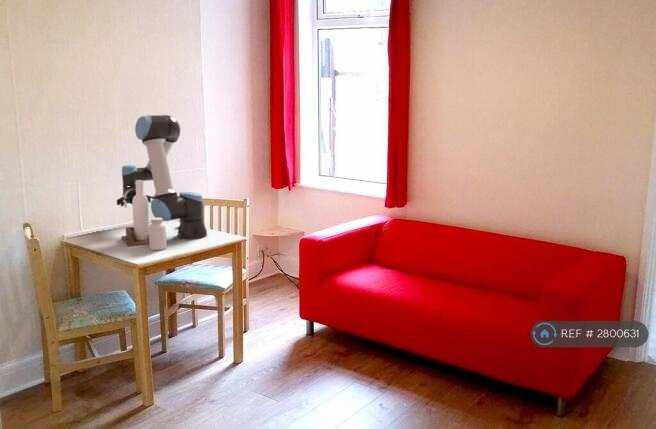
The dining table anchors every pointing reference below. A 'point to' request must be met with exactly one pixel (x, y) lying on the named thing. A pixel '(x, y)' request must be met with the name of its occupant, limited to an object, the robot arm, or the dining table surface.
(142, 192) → the bottle
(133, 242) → the bottle rest
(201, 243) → the dining table surface
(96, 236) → the dining table surface
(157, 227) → the pill bottle
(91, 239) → the dining table surface
